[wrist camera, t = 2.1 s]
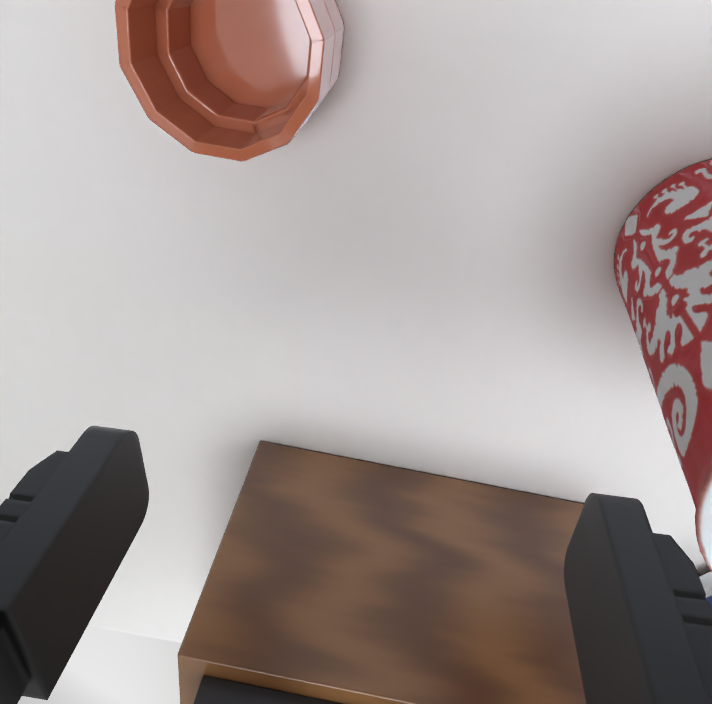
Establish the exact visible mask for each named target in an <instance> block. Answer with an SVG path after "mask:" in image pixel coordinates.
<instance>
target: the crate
mask: <svg viewBox="0 0 712 704" xmlns="http://www.w3.org/2000/svg"><path fill="white" fill-rule="evenodd" d="M583 506H584V504H582V503H577V502H571V501H566V500H561V499H556V498H551V497H546V496H540V495H535V494H530V493H525V492H520V491H515V490H510V489H504V488H499V487H494V486H489V485H484V484H479V483H474V482H468V481H463V480H458V479H453V478H448V477H443V476H438V475H432V474H427V473H422V472H417V471H412V470H407V469H401V468H396V467H391V466H386V465H381V464H376V463H371V462H365V461H360V460H355V459H350V458H345V457H340V456H335V455H329V454H324V453H319V452H314V451H309V450H304V449H299V448H293V447H288V446H283V445H278V444H273V443H268V442H262V441H260V442H259V445H258V447H257V450H256V452H255V455H254V458H253V460H252V463H251V465H250V468H249V471H248V473H247V476H246V478H245V481H244V484H243V486H242V489H241V491H240V494H239V497H238V499H237V502H236V504H235V507H234V509H233V512H232V515H231V517H230V520H229V522H228V525H227V528H226V530H225V533H224V535H223V538H222V541H221V543H220V546H219V548H218V551H217V554H216V556H215V559H214V561H213V564H212V567H211V569H210V572H209V574H208V577H207V580H206V582H205V585H204V587H203V590H202V592H201V595H200V598H199V600H198V603H197V605H196V608H195V611H194V613H193V616H192V618H191V621H190V624H189V626H188V629H187V631H186V634H185V637H184V639H183V642H182V644H181V647H180V650H179V652H178V669H179V686H180V704H193V703H194V700H195V697H196V694H197V691H198V688H199V685H200V682H201V679H202V677H203V675H205V676H210V677H215V678H220V679H224V680H229V681H234V682H239V683H244V684H249V685H254V686H258V687H263V688H268V689H273V690H278V691H283V692H288V693H292V694H297V695H302V696H307V697H312V698H317V699H322V700H326V701H331V702H336V703H341V704H586V700H585V694H584V689H583V683H582V678H581V672H580V667H579V661H578V656H577V650H576V645H575V639H574V634H573V628H572V623H571V617H570V612H569V606H568V601H567V595H566V590H565V584H564V562H565V555H566V551H567V548H568V545H569V542H570V540H571V537H572V535H573V532H574V529H575V527H576V524H577V522H578V519H579V517H580V514H581V511H582V509H583Z"/></svg>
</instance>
